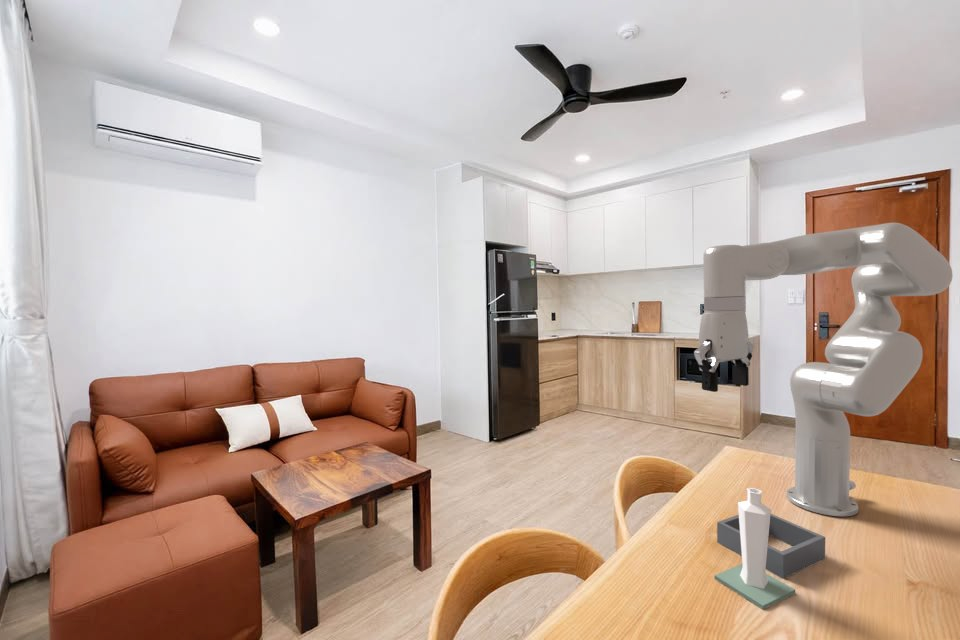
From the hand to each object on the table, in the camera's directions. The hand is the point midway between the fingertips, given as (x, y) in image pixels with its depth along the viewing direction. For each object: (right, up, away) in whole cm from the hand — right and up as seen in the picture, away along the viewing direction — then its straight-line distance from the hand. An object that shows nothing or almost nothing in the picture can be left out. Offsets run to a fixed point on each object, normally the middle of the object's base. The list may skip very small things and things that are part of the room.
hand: (725, 387), depth 90 cm
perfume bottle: (-6, -29, -20) cm, 35 cm away
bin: (+2, -28, -10) cm, 30 cm away
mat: (-7, -29, -20) cm, 36 cm away
